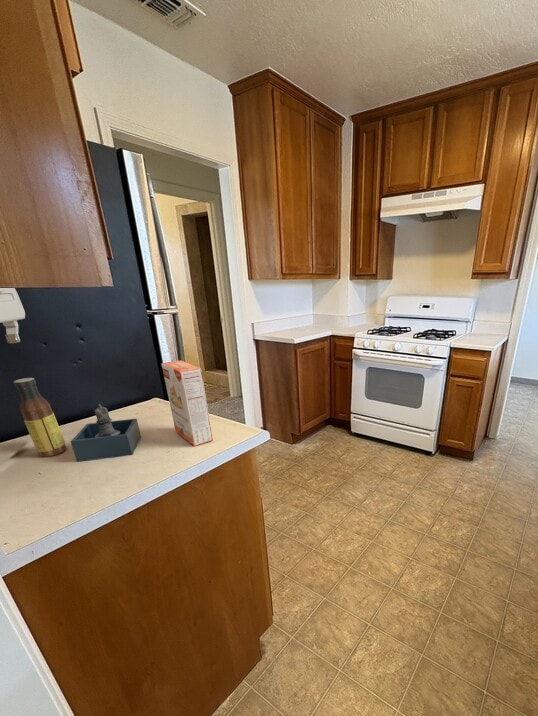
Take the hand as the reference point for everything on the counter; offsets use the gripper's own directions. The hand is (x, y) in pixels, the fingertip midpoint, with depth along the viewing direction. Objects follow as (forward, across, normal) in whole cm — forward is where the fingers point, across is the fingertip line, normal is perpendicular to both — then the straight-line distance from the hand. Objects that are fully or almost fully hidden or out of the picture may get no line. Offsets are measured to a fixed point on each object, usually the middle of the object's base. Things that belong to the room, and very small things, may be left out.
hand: (3, 346), depth 74 cm
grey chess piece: (+29, -8, +12) cm, 32 cm away
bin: (+29, -8, +12) cm, 32 cm away
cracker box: (+29, -9, +33) cm, 45 cm away
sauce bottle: (+29, -10, -3) cm, 31 cm away
